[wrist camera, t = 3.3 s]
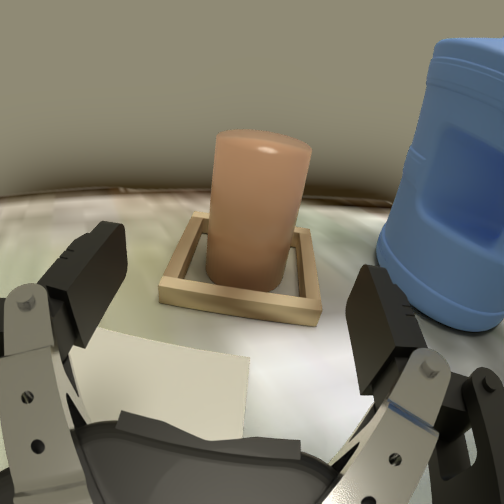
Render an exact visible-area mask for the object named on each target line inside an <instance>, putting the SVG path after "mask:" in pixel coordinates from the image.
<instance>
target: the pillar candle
mask: <svg viewBox="0 0 504 504" xmlns="http://www.w3.org/2000/svg"><path fill="white" fill-rule="evenodd" d="M311 153H312V149H311V147H310V146H309V145H307V144H306V143H304V142H302V141H300V140H298V139H295V138H292V137H289V136H286V135H282V134H278V133H273V132H267V131H260V130H249V129H234V130H226V131H222V132H220V133H218V134H217V138H216V148H215V158H214V167H213V178H212V189H211V200H210V212H209V225H208V239H207V253H206V272H207V274H208V276H209V278H210V279H211V280H212V281H213V282H214V283H215V284H216V285H221V286H227V287H233V288H240V289H246V290H253V291H260V292H266V293H267V292H269V291H271V290H273V289H275V288H276V287H277V286H278V285H279V284H280V283H281V281H282V278H283V275H284V271H285V267H286V262H287V258H288V254H289V250H290V246H291V242H292V238H293V233H294V229H295V225H296V221H297V216H298V212H299V208H300V203H301V199H302V194H303V190H304V186H305V181H306V176H307V172H308V167H309V162H310V158H311Z"/></svg>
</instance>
